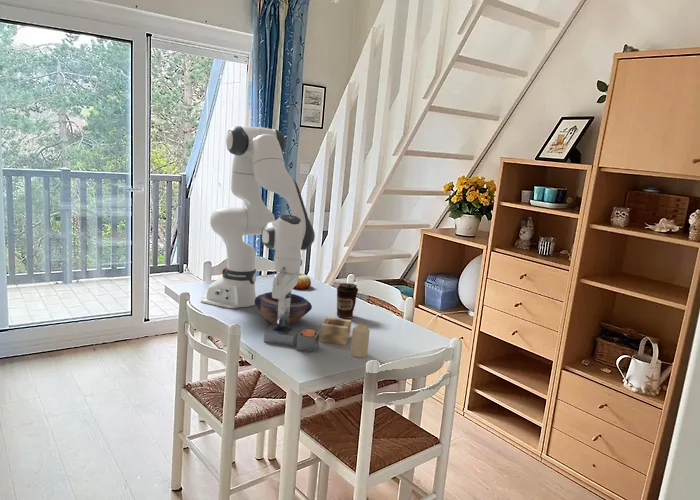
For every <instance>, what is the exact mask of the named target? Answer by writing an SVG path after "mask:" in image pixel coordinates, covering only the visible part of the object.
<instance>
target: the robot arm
mask: <svg viewBox="0 0 700 500" xmlns="http://www.w3.org/2000/svg"><path fill="white" fill-rule="evenodd" d="M285 137H286V136H285V135H284V133H283V132H282V131H281V130H278V129H276V128H269V127H262V126H241V125H238V126H237V125H236V126H232V127H230V128H229V129H228V131H227V133H226V139H225V141H226V143H225V144H226V148H227V150H228V151H229V153H230V154H232V155H233V160H232V166H231V167H232V168H231V180H230V181H231V182H230V184H231V185H230V190H231V193H232V195H234V196H235V197H237V198H238V199H240V200H242V201H243V202H244V206H243V207H240V206H239V207H234V206H233V207H232V206H230V207H229V206H227V207H221V208H217V209H216V208H215V210H213V212H212V213H211V216H210V219H209V224H210V226H211V228H212V230H213V232H214V233H215V234H217V235H218V236H219V237H220V238H221V239H222V241H223V242H224V245H225V246H226V254H227V255H226V256H227V258H226V259H227V260H226V261H227V265H226V266H225V267H224V268H223V269H221V272H220V274H222V275H221V276H220V277H218V278H217V279H216V280H214V281H213V282H211V283H210V284H209V286H208V288H207V291H206V293H205V294H203V295H202V296H201V297H200V302H201V303H202V304H208V305H212V306H217V307H223V308H226V309H227V308H228V309H236V308H237V309H238V308H247V307H252V306H256V305H255V299H256V297H257V295H256V294H257V293H256V279H257V269H256V255H257V253H256V249H255V248H254V247H253V246H252V245H250V244H249V243H246V242H244V240H243V236H260V235H261V243H262V245H264V246H265V247H266V248H267V249H268V250H275V252H274V255H273V256H274V257H273V270H274V271H276V274H275V275H274V277H273V280H272V281H273V282H272V289H271V290H272V291H271V292H272V298H275V299H279V307H284V306H285V296H286V295H287V294H288V293H289V292H290V291H291V292H292V290H293V289H295V288H294V287H295V286H296V285H297V283H298V279H299V273H300V271H301V267H302V265H303V259H302V254H301V252H302V251H305V250H307V249H309V248H310V247H311V246H312V244H313V243H314V241H315V239H316V238H315V236H316V234H315V233H316V232H315V230H314V228H313V225H312V223H311V221H310V219H309V216H308V213H307V210H306V206H305V204H304V200H303V198H302V194H301V191H300V188H299V185H298V184H297V181H296V180H295V179H294V178H292V177H291V175H290V174H289V172H288V171H287V168H286V166H285V165H286V164H285V160H284V156H283V155H284V154H283V153H284V152H285V149H286V138H285ZM261 187H262V188H263V189H264V190H266V191H269V192H272V193H274V194H275V195H276V194H277V195H279V196H281V197H282V198H283V199H285V201H286V202H287V203H288V207H289V209H290V213H291V214H283V215H281V216H279V217H278V218H277V219H276V218H275V217H276V216H275V215H274V214H273V212H272V211H271V209H269V208H268V207H267V206H266V205H265V202H264V200H263V198H262V194H261Z"/></svg>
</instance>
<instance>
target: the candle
mask: <svg viewBox="0 0 700 500" xmlns="http://www.w3.org/2000/svg"><path fill="white" fill-rule="evenodd" d="M369 340H370V329H369V327H368V326H367V325H364V324H363V323H359V324H357V325H355V326H354V327H352V332H351V344H350V345H351V346H350V355H351V356H352V357H354V358H359V359H361V358H366V357H367V356H368V352H369V343H370V341H369Z"/></svg>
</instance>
